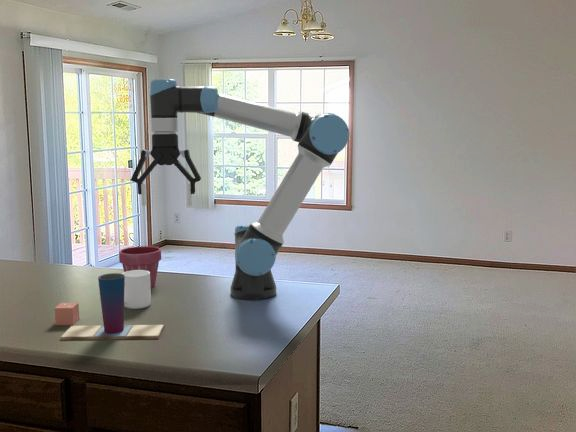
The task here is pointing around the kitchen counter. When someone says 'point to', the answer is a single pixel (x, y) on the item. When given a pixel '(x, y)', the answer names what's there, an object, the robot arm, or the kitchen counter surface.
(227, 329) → the kitchen counter surface
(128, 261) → the plant pot
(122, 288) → the cup
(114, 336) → the multicoloured flat piece
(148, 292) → the mug
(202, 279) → the kitchen counter surface
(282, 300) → the kitchen counter surface
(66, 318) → the die
